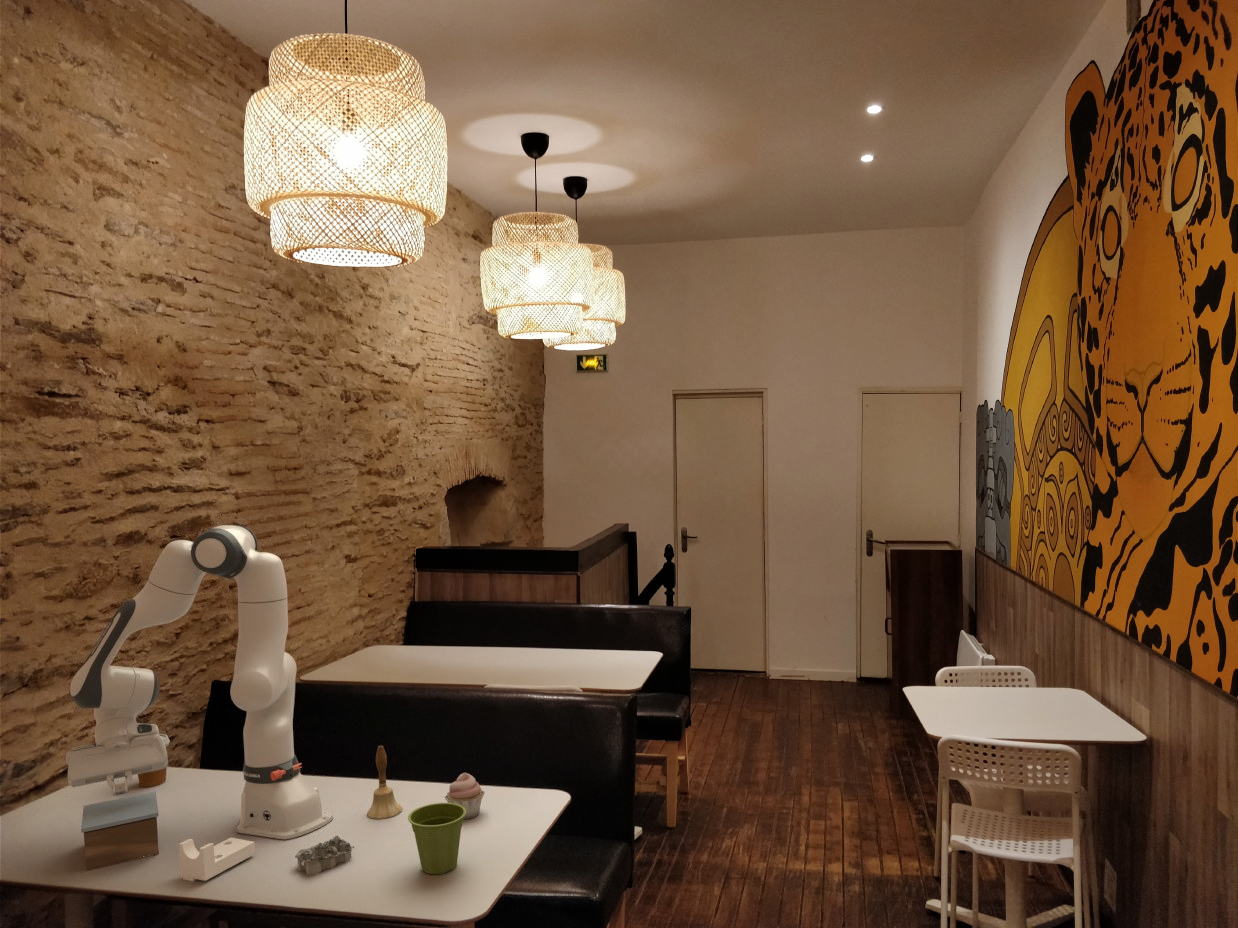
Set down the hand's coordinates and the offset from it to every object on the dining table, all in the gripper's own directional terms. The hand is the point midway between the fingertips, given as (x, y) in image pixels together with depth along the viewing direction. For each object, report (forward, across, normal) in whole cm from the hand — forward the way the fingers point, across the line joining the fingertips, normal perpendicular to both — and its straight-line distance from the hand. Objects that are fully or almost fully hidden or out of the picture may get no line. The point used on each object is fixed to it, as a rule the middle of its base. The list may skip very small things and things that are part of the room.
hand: (120, 793), depth 207 cm
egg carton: (+34, +37, -14) cm, 52 cm away
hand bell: (+20, +55, -1) cm, 58 cm away
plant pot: (+46, +57, -26) cm, 78 cm away
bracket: (+26, +17, -7) cm, 32 cm away
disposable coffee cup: (-22, +7, +40) cm, 46 cm away
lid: (+3, 0, +3) cm, 4 cm away
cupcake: (+30, +71, -10) cm, 77 cm away
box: (+9, 0, +9) cm, 13 cm away
